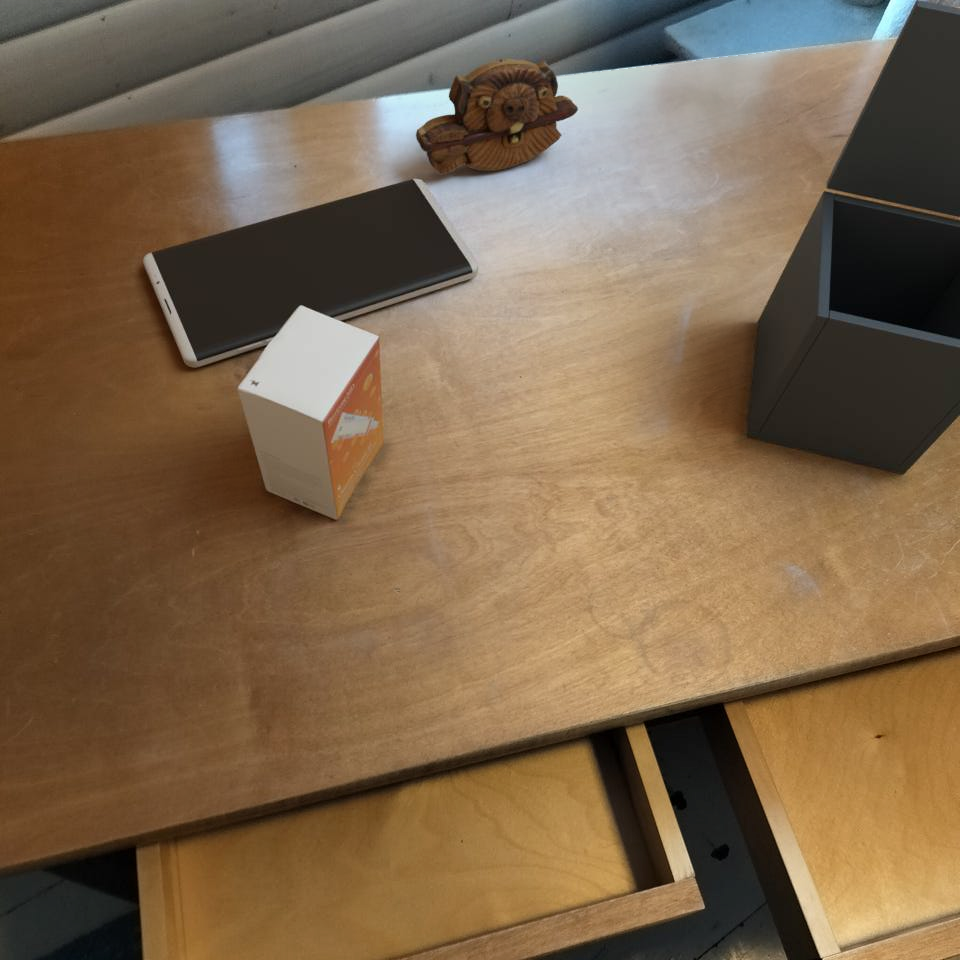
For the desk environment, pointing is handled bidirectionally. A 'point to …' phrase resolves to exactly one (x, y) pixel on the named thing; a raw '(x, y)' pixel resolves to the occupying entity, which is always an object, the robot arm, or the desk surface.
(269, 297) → the smartphone
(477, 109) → the wooden carving
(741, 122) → the desk surface
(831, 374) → the chest
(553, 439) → the desk surface
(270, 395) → the small box
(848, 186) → the lid
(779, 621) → the desk surface
